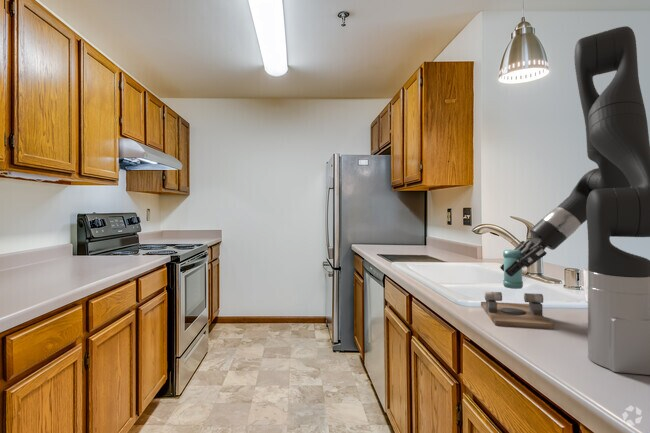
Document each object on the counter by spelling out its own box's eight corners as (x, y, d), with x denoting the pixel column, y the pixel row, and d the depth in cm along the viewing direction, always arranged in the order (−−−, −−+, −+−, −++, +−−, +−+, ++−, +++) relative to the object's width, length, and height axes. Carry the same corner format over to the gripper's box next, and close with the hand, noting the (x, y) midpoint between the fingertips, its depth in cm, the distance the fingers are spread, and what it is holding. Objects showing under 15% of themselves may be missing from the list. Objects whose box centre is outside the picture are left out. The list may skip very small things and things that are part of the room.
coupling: (525, 289, 91) (525, 252, 90) (505, 288, 92) (505, 251, 92) (519, 285, 95) (519, 249, 95) (501, 284, 96) (501, 249, 96)
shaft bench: (555, 329, 83) (555, 303, 83) (493, 325, 87) (492, 300, 86) (530, 308, 101) (530, 286, 100) (479, 305, 104) (479, 284, 104)
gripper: (534, 217, 98) (488, 258, 101) (554, 219, 84) (501, 267, 88) (554, 235, 97) (508, 276, 100) (579, 240, 83) (524, 288, 86)
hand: (505, 271), depth 94 cm, fingers closed on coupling, 4 cm apart
